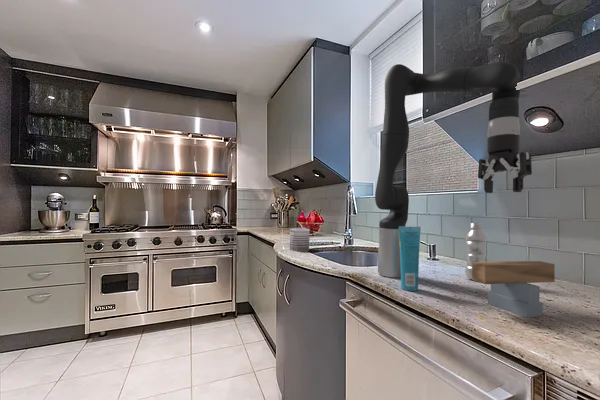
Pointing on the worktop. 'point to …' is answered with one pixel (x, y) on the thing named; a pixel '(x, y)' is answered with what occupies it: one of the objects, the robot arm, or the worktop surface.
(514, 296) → the ridge
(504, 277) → the walnut bar
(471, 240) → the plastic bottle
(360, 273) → the worktop surface
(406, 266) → the tube
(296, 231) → the can
